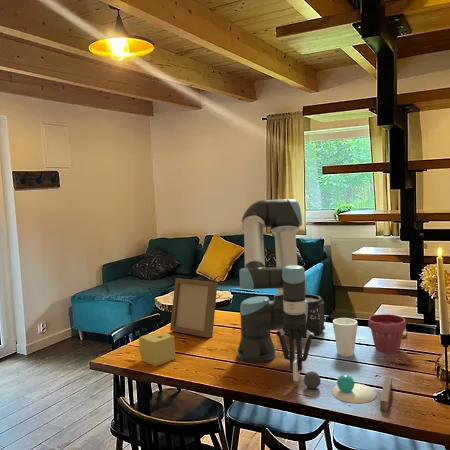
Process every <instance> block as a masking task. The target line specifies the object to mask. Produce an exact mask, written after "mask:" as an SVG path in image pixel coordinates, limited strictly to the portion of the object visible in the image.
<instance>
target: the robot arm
mask: <svg viewBox="0 0 450 450" xmlns="http://www.w3.org/2000/svg"><path fill="white" fill-rule="evenodd" d="M242 215H243V216H242V217H241V228H242V229H241V230H243V233H244V235H243V238H244V241H243V243H244V248H243V249H244V267H243V268H240V269H239V274H238V275H239V287H240V289H242V290H263V289H264V290H267V289H269V290H270V289H275V290H276V289H277V292H276V293H275V295H274V296H273V298H274V299H273V300H270V297H268V296H267V295H266V296H263V295H262V296H261V295H258V296H253V297H249V298H246V299H244V300H242V301H241V303H240V306H239V308H240V309H239V310H240V312H239V315H240V333H241V334H240V341H239V344H238V348H237V358H238V359H239V360H241V361H243V362H247V363H252V364H253V363H265V362H270V361H272V360H274V358H275V357H276V349H275V345H274V343H273V340H272V338H271V331H276V332H275V334H276V336H277V338H278V340H279V343H280V346H281V350H282V355H283V357H284V360H288V361H289V369H290V371H292V375H293V376H292V378H293V380H292V381H294V382H298V381H300V377H301V376H300V372H302V370H303V362H306V361H307V359H308V357H309V352H310V348H311V344H312V339H313V338H314V337H315V336H314V335H315V334H314V333H313V332H312V333H311V332H310V331H308V328H307V326H306V323H307V314H308V301H307V300H306V299H305V294H306V273H305V267H304V266H302V265H298V252H297V251H298V250H297V236H296V234H298V233H299V230H300V227H301V226H303V217H302V210H301V206H300V203H299V201H298V200H297V199H291V198H283V199H260V200H257V201H255V202H254V203H252V204H250V206H249V207H248V208H247V209H246V210H245V211H244V213H243V214H242ZM265 228H270V232H271V233H272V234H273V235H274V241H275V242H274V243H275V244H274V245H275V259H276V262H275V263H276V264H275V265H276V267H266V260H265V244H264V230H265ZM305 334H307V335H306V337H305V338H307V339H306V340H305V344H304V345H305V346H304V348H303V338H304V337H303V336H304V335H305ZM285 335H286V336H287V338H288V344H287V339H286V336H285ZM295 343H296V344H295ZM295 348H296V349H295ZM303 349H304V350H303ZM295 350H296V353H295Z"/></svg>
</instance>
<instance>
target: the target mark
mask: <svg viewBox="0 0 450 450" xmlns="http://www.w3.org/2000/svg"><path fill="white" fill-rule="evenodd" d="M331 393H332V396H333V397H334V398H336V399H337V400H340V401H342V402H345V403H350V404H352V403H353V404H364V403H365V404H366V403H370V402H371V401H373V400H375V399H376V398H377V395H378V394H377V391H376V390H375V389H374V388H372V387H370V386H368V385H365V384H362V383H356V382H354V388H353V390H352V391H350V392H347V393H346V392H342V391H341V390H340V389H339V388H338V386H337V384H336V385H335V386H333V387H332V389H331Z"/></svg>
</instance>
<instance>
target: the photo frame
mask: <svg viewBox="0 0 450 450" xmlns="http://www.w3.org/2000/svg"><path fill="white" fill-rule="evenodd" d="M174 281H175V282H174V290H173V298H172V299H173V300H172V309H171V318H170V319H171V320H170V327H169V330H170V331H172V332H175V333H176V332H177V333H182V334H187V335H193V336H196V337H202V338H213V333H214V323H215V313H216V312H215V311H216V302H217V293H218V292H217V291H218V282H213V281H206V280H205V281H204V280H195V279H186V278H176V277H175V280H174Z"/></svg>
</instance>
